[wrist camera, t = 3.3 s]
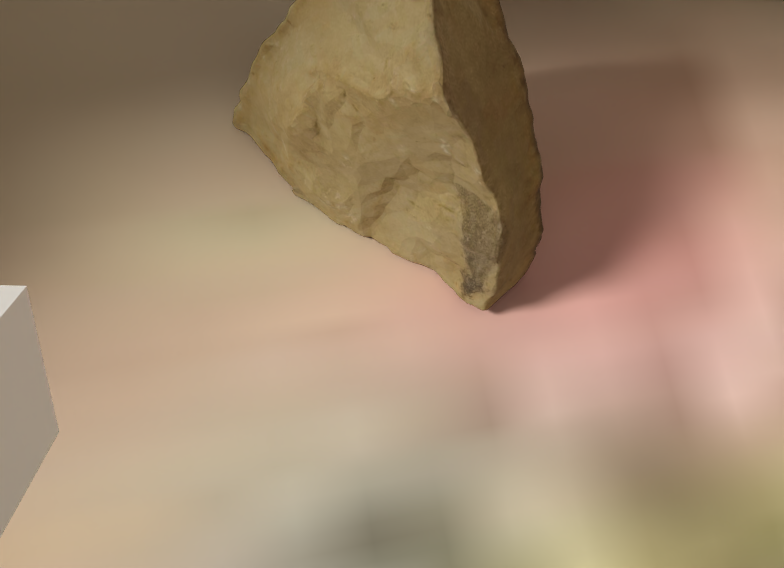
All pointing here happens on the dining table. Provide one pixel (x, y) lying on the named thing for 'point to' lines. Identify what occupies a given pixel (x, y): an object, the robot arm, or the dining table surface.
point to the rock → (406, 131)
